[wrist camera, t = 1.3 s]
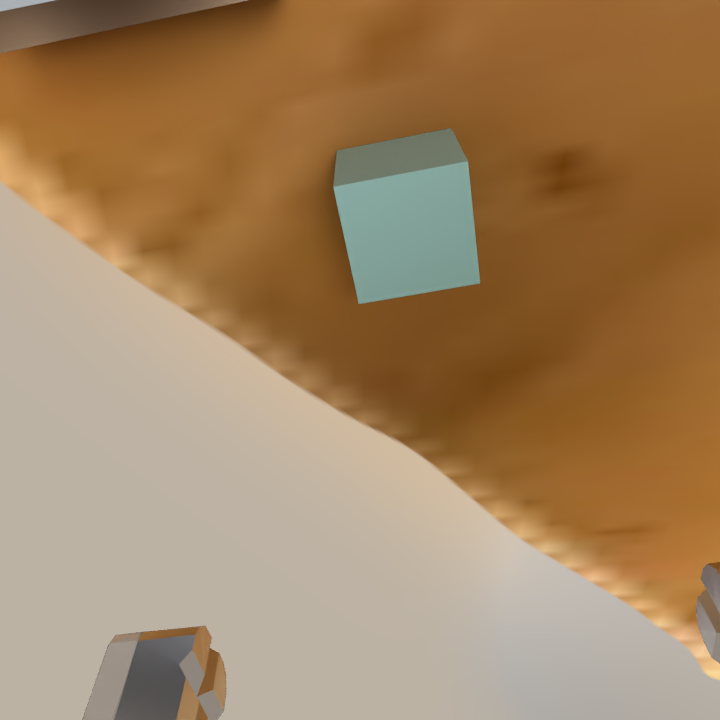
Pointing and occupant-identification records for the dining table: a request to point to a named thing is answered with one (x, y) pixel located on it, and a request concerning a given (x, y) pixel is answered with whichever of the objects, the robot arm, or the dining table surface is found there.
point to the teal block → (407, 216)
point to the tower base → (86, 18)
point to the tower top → (18, 3)
